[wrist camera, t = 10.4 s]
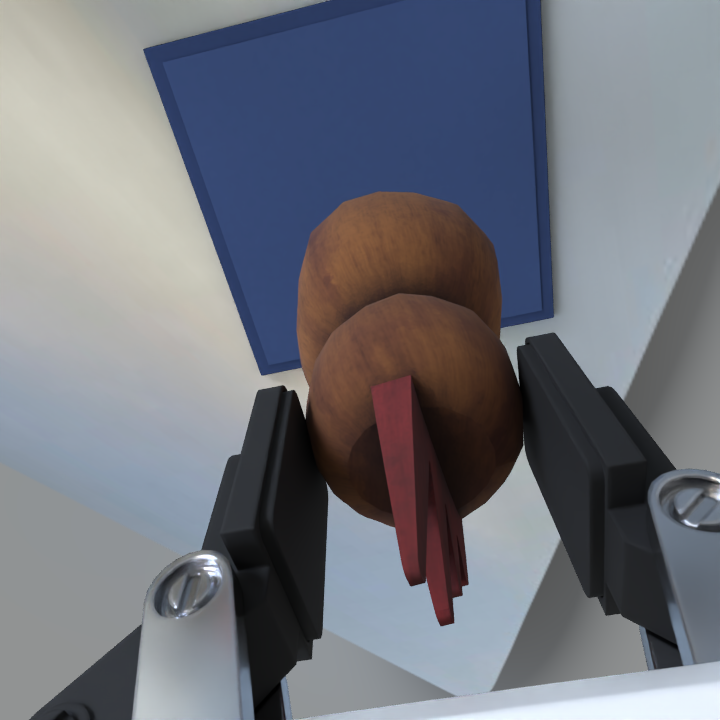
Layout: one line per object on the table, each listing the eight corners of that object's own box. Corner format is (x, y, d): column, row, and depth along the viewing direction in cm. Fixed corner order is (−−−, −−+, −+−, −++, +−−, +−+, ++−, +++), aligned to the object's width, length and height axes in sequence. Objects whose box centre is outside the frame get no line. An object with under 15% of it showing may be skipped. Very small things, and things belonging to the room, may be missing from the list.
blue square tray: (535, -53, 24) (539, -55, 23) (552, 314, 32) (554, 318, 32) (145, 49, 25) (141, 49, 25) (262, 372, 34) (261, 376, 34)
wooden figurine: (305, 164, 18) (195, 462, 5) (477, 169, 18) (789, 468, 5) (308, 343, 22) (247, 795, 9) (453, 345, 22) (611, 793, 9)
